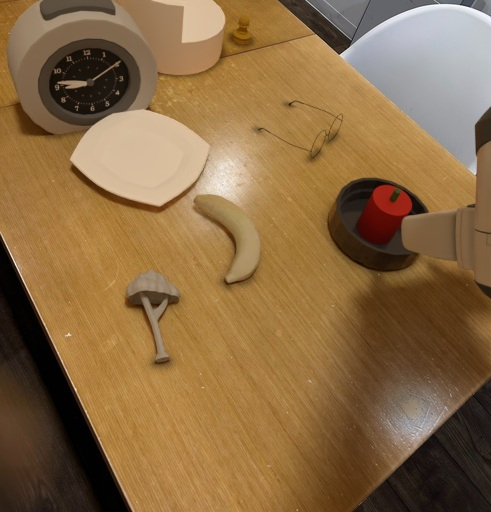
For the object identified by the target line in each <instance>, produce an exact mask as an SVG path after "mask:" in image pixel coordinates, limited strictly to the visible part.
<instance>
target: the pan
mask: <svg viewBox="0 0 491 512" xmlns="http://www.w3.org/2000/svg"><path fill="white" fill-rule="evenodd" d="M382 185H390V186H394V187H397V188H399V189H401V190H402V191H404V192H405V193H406V194H407V195H408V196H409V198H410V199H411V202H412V208H411V211H410V212H409V214H408V215H407V216H411V215H418V214H425V213H430V211H429V209H428V207H427V205H425V203H424V202H423V201H422V200H421V199H420V197H419V196H418V195H416V194H415V193H414V192H412V191H411V190H409V189H408V188H406V187H405V186H403V185H402V184H399V183H397V182H395V181H392V180H388V179H384V178H380V177H361V178H358V179H354V180H351V181H349V182H348V183H347V184H345V185H344V186H343V187H341V189H340V190H339V192H338V194H337V196H336V198H335V200H334V202H333V205H332V207H331V209H330V212H329V216H328V227H329V230H330V233H331V236H332V238H333V240H334V241H335V242H336V243H337V245H338V247H339V248H340V249H341V250H342V251H343V252H344V253H346V255H348V256H349V257H350V258H352V260H354V261H356V262H359V263H360V264H362V265H364V266H367V267H368V268H373V269H378V270H382V271H388V270H389V271H390V270H391V271H392V270H400V269H403V268H406V267H408V266H410V265H412V264H413V262H415V261H416V260H417V259H418V258H419V257H420V256H421V254H419V253H416V252H413V251H410V250H408V249H406V248H405V247H404V246H403V243H402V234H401V226H402V224H401V226H400V227H399V229H398V230H397V232H396V233H395V235H394V236H393V238H392V239H391V241H390V242H388V243H386V244H381V245H379V244H373V243H371V242H368V241H367V240H365V239H364V238H363V237H362V236H361V235H360V234H359V232H358V230H357V221H358V219H359V217H360V215H361V214H362V212H363V210H364V208H365V206H366V204H367V203H368V201H369V199H370V197H371V195H372V193H373V192H374V190H375V189H376V188H377V187H379V186H382Z"/></svg>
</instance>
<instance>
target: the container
mask: <svg viewBox="0 0 491 512" xmlns="http://www.w3.org/2000/svg"><path fill="white" fill-rule="evenodd" d="M118 5H120V6H121V7H123V8H124V9H125V10H126V11H127V12H128V13H129V15H130V16H131V17H132V18H133V19H134V20H135V22H136V23H137V25H138V27H139V29H140V30H141V32H142V34H143V36H144V38H145V39H146V41H147V43H148V45H149V46H150V48H151V51H152V53H153V55H154V57H155V60H156V63H157V71H158V73H160V74H164V75H172V76H174V75H175V76H187V75H194V74H198V73H201V72H205V71H207V70H209V69H210V68H212V67H214V66H215V65H216V63H218V61H220V58H221V54H222V49H223V44H224V43H223V42H224V35H225V29H226V15H225V13H224V11H223V10H222V8H221V6H220V5H219V4H217V3H216V2H215V0H118Z"/></svg>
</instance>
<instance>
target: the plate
mask: <svg viewBox="0 0 491 512" xmlns="http://www.w3.org/2000/svg"><path fill="white" fill-rule="evenodd" d="M210 150H211V145H210V144H209V143H208V142H207V141H205V140H204V139H203V138H202V137H200V136H199V135H198V134H197V133H196V132H195V131H193V130H192V129H190V128H189V127H187V126H186V125H184V124H183V123H182V122H180V121H177V120H176V119H174V118H172V117H170V116H167V115H164V114H161V113H159V112H155V111H152V110H149V109H148V110H147V109H146V110H144V109H142V110H135V111H128V112H125V111H124V112H120V113H113V114H111V115H109V116H107V117H105V118H104V119H102V120H100V121H99V122H97V123H96V124H95V125H93V126H92V127H91V128H90V129H89V130H86V132H84V135H83V136H82V137H81V138H80V140H79V141H78V143H77V145H76V147H75V148H74V150H73V151H72V154H71V156H70V158H69V161H70V163H71V164H73V165H74V167H75V168H77V170H79V171H80V172H81V173H82V174H83V175H84V176H85V177H86V178H87V179H89V180H90V181H91V182H93V183H94V184H95V185H96V186H98V187H100V188H101V189H103V190H104V191H106V192H108V193H111V194H113V195H115V196H117V197H120V198H123V199H126V200H130V201H134V202H137V203H141V204H145V205H149V206H154V207H158V208H161V207H162V206H164V205H165V204H167V203H168V202H170V201H172V200H174V199H175V198H176V197H178V196H179V195H181V194H182V193H184V192H185V191H186V190H187V189H188V188H190V187H191V186H192V185H193V184H194V183H195V182H196V181H197V180H198V178H199V177H200V175H201V174H202V172H203V169H204V167H205V165H206V163H207V160H208V156H209V154H210Z"/></svg>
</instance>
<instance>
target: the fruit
mask: <svg viewBox="0 0 491 512" xmlns="http://www.w3.org/2000/svg"><path fill="white" fill-rule="evenodd" d="M193 204H194V205H195V206H196V207H197V208H198V209H200V210H201V211H202V212H203V213H205V214H206V215H208V216H209V217H211V218H213V219H214V220H216V221H218V222H219V223H220V224H222V225H223V226H224V227H225V228H226V229H227V230H228V231H229V232H230V233H231V235H232V237H233V238H234V240H235V246H236V247H235V254H234V257H233V260H232V263H231V265H230V268H229V271H228V272H227V273H226V275H225V276H224V281H225V282H226V283H227V284H232V283H235V282H240V281H244V280H247V279H248V278H250V277H251V276H252V275H253V273H254V272H255V271H256V269H257V267H258V266H259V265H260V264H259V263H260V261H261V255H262V254H261V253H262V243H261V242H262V241H261V237H260V233H259V230H258V229H257V226H256V225H255V223H254V221H253V220H252V218H250V217H251V216H249V215H248V214H247V213H246V212H245V211H244V210H243V209H242V208H241V207H240V206H238V205H237V204H235V203H234V202H233V201H230V200H229V199H227V198H226V197H223V196H220V195H219V194H211V193H207V194H196V195H195V197H194V199H193Z"/></svg>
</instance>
